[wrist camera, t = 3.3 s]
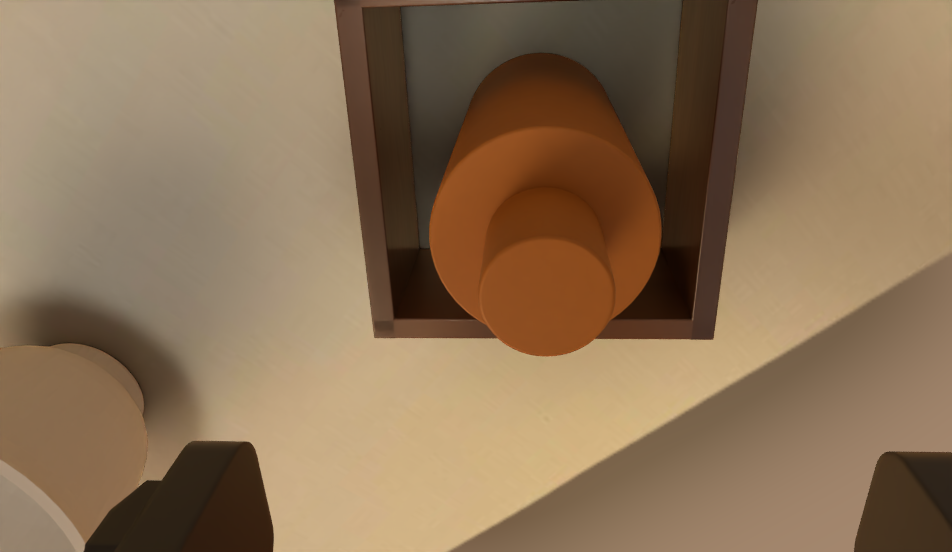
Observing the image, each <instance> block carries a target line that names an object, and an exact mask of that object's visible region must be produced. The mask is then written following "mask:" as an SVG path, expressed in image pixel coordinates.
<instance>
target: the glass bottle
mask: <svg viewBox="0 0 952 552" xmlns="http://www.w3.org/2000/svg"><path fill="white" fill-rule="evenodd" d="M661 235H662V224H661V216H660V210H659V206H658V203H657V199H656V196H655V194H654V192H653V189H652V187H651V185H650V183H649V181H648V179H647V177H646V175H645V172H644V170H643V168H642V166H641V164H640V162H639V160H638V158H637V156H636V154H635V152H634V150H633V148H632V146H631V144H630V142H629V139H628V137H627V135H626V133H625V131H624V129H623V127H622V125H621V123H620V121H619V119H618V117H617V115H616V113H615V111H614V108H613V106H612V104H611V102H610V100H609V98H608V96H607V94H606V92H605V90H604V88H603V87H602V85H601V84H600V82H599V81H598V80H597V79H596V77H595V76H594V75H593V74H592V73H591V72H590V71H589V70H587V69H586V68H585V67H584V66H582V65H581V64H579V63H578V62H575V61H573V60H571V59H569V58H566V57H563V56H560V55H556V54H550V53H534V54H527V55H523V56H519V57H516V58H513V59H511V60H509V61H507V62H505V63H503V64H501V65H500V66H499V67H497V68H496V69H494V70H493V71H492V72H491V73H490V74H489V75H488V76H487V77H486V78H485V79H484V80H483V82H482V83H481V84H480V85H479V87H478V89H477V90H476V92H475V94H474V96H473V98H472V100H471V103H470V105H469V108H468V111H467V114H466V116H465V119H464V122H463V125H462V127H461V130H460V133H459V135H458V138H457V141H456V144H455V146H454V149H453V152H452V155H451V157H450V160H449V163H448V166H447V168H446V171H445V174H444V177H443V179H442V182H441V185H440V187H439V190H438V193H437V196H436V198H435V202H434V205H433V209H432V212H431V218H430V226H429V242H430V249H431V255H432V258H433V262H434V265H435V268H436V270H437V273H438V275H439V277H440V280H441V281H442V283H443V284H444V286H445V288H446V289H447V291H448V292H449V294H450V295H451V296H452V297H453V298H454V300H455V301H456V302H457V303H458V304H459V305H460V306H461V307H462V308H463V309H464V310H465V311H466V312H468V313H469V314H470V315H472V316H473V317H474V318H476V319H477V320H478V321H480V322H482V323H484V324H485V325H487V326H488V328H489V329H490V330H491V332H492V333H493V334H494V335H495V336H496V337H497V338H498V339H499V340H501V341H502V342H503V343H505V344H506V345H508V346H509V347H511V348H513V349H515V350H517V351H520V352H523V353H526V354H530V355H535V356H557V355H563V354H567V353H570V352H573V351H576V350H578V349H580V348H582V347H584V346H586V345H587V344H589V343H590V342H591V341H593V340H594V339H595V338H596V337H597V336H598V335H599V334H600V333H601V332H602V331H603V329H604V328H605V327H606V325H607V324H608V322H609V321H610V320H611V319H613V318H614V317H616V316H617V315H618V314H620V313H621V312H622V311H623V310H624V309H626V308H627V307H628V306H629V305H630V304H631V303H632V302H633V301H634V300H635V298H636V297H637V296H638V295H639V294H640V292H641V291H642V290H643V288H644V286H645V285H646V283H647V282H648V280H649V278H650V276H651V274H652V272H653V270H654V268H655V265H656V262H657V259H658V255H659V251H660V245H661Z"/></svg>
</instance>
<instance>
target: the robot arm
mask: <svg viewBox="0 0 952 552" xmlns="http://www.w3.org/2000/svg"><path fill="white" fill-rule="evenodd" d="M273 542H274V533H273V525H272V520H271V516H270V511H269V507H268V502H267V498H266V493H265V489H264V485H263V480H262V476H261V471H260V467H259V462H258V458H257V454H256V451H255V448H254V447H253V445H252V444H251V443H250V442H235V441H192V442H190V443H188V444H187V445H186V446H185V447H184V449H183V450H182V451H181V453H180V454H179V456H178V457H177V459H176V460H175V462H174V463H173V465H172V466H171V468H170V469H169V471H168V472H167V474H166V475H165V477H164V478H163V480H162V481H149V480H147V481H146V482H145V483H143V484H142V485H141V486H139V487H138V488H137V489H136V490H134V491H133V492H132V493H131V494H129V495H128V496H127V497H126V498H124V499H123V500H122V501H121V502H119V503H118V504H117V505H116V506H114V507H113V508H112V509H111V510H110V511H109V512H108V513H107V515H106V516H105V518H104V519H103V520H102V522H101V523H100V524H99V526H98V527H97V529H96V530H95V531H94V533H93V534H92V535H91V537H90V538H89V540H88V541H87V542H86V544H85V549H84V551H83V552H273ZM854 552H952V453H951V452H886V453H884V454H882V455H881V456H880V458H879V460H878V461H877V464H876V467H875V471H874V475H873V478H872V482H871V485H870V489H869V493H868V497H867V500H866V504H865V507H864V511H863V515H862V518H861V522H860V525H859V529H858V532H857V536H856V541H855V548H854Z"/></svg>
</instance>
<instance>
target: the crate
mask: <svg viewBox="0 0 952 552" xmlns="http://www.w3.org/2000/svg"><path fill="white" fill-rule="evenodd" d="M548 1H577V0H334V4H335V12H336V20H337V29H338V37H339V45H340V54H341V62H342V71H343V79H344V87H345V96H346V104H347V112H348V121H349V129H350V138H351V146H352V154H353V163H354V171H355V180H356V188H357V196H358V205H359V213H360V221H361V230H362V238H363V247H364V255H365V263H366V272H367V280H368V289H369V297H370V305H371V314H372V322H373V330H374V337H375V338H497V337H496V336H495V335H494V334H493V333H492V332H491V330H490V329H489V328H488V326H487V325H485V324H484V323H482V322H480V321H478V320H477V319H476V318H474V317H473V316H472V315H470V314H469V313H468V312H466V311H465V310H464V309H463V308H462V307H461V306H460V305H459V304H458V303H457V302H456V301H455V300H454V298H453V297H452V296H451V295H450V294H449V292H448V291H447V289H446V288H445V286H444V284H443V283H442V281H441V280H440V277H439V275H438V273H437V270H436V268H435V265H434V262H433V258H432V255H431V249H420V248H419V236H418V224H417V211H416V199H415V186H414V174H413V161H412V149H411V137H410V124H409V112H408V99H407V87H406V75H405V62H404V50H403V37H402V25H401V13H400V7H404V6H433V5H462V4H490V3H519V2H548ZM757 3H758V0H683V5H682V17H681V28H680V40H679V51H678V63H677V74H676V86H675V97H674V109H673V120H672V132H671V143H670V155H669V166H668V178H667V189H666V201H665V212H664V224H663V235H662V247H661V248H660V251H659V255H658V259H657V262H656V265H655V268H654V270H653V272H652V274H651V276H650V278H649V280H648V282H647V283H646V285H645V286H644V288H643V290H642V291H641V292H640V294H639V295H638V296H637V297H636V298H635V300H634V301H633V302H632V303H631V304H630V305H629V306H628V307H627V308H626V309H624V310H623V311H622V312H621V313H620V314H618V315H617V316H616V317H614V318H613V319H611V320H610V321H609V322H608V324H607V325H606V327H605V328H604V329H603V331H602V332H601V333H600V334H599V335H598V336H597V337H596V338H595V339H699V340H712V339H713V338H714V331H715V323H716V315H717V308H718V300H719V293H720V285H721V277H722V270H723V262H724V254H725V247H726V239H727V232H728V224H729V216H730V209H731V201H732V194H733V186H734V178H735V171H736V163H737V155H738V148H739V140H740V133H741V125H742V117H743V110H744V102H745V95H746V87H747V79H748V72H749V64H750V56H751V49H752V41H753V34H754V26H755V18H756V11H757Z"/></svg>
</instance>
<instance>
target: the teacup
mask: <svg viewBox="0 0 952 552" xmlns="http://www.w3.org/2000/svg"><path fill="white" fill-rule="evenodd" d="M143 411H144V399H143V395H142V392H141V389H140V387H139V385H138V383H137V381H136V380H135V378H134V377H133V375H132V374H131V373H130V372H129V371H128V370H127V369H126V368H125V367H124V366H123V365H122V364H121V363H120V362H119V361H117V360H116V359H115V358H113V357H112V356H110V355H108V354H107V353H105V352H103V351H101V350H98V349H96V348H93V347H90V346H86V345H81V344H72V343H66V344H57V345H53V346H50V347H46V346H32V345H21V346H10V347H4V348H0V552H83V551H84V549H85V544H86V542H87V541H88V540H89V538H90V537H91V535H92V534H93V533H94V531H95V530H96V529H97V527H98V526H99V524H100V523H101V522H102V520H103V519H104V518H105V516H106V515H107V513H108V512H109V511H110V510H111V509H112V508H113V507H114V506H116V505H117V504H118V503H119V502H121V501H122V500H123V499H124V498H126V497H127V496H128V495H129V494H131V493H132V492H133V491H134V490H136V489H137V487H138V484H139V482H140V480H141V477H142V474H143V470H144V467H145V463H146V459H147V451H148V440H147V432H146V427H145V423H144V420H143V417H142V415H143Z"/></svg>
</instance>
